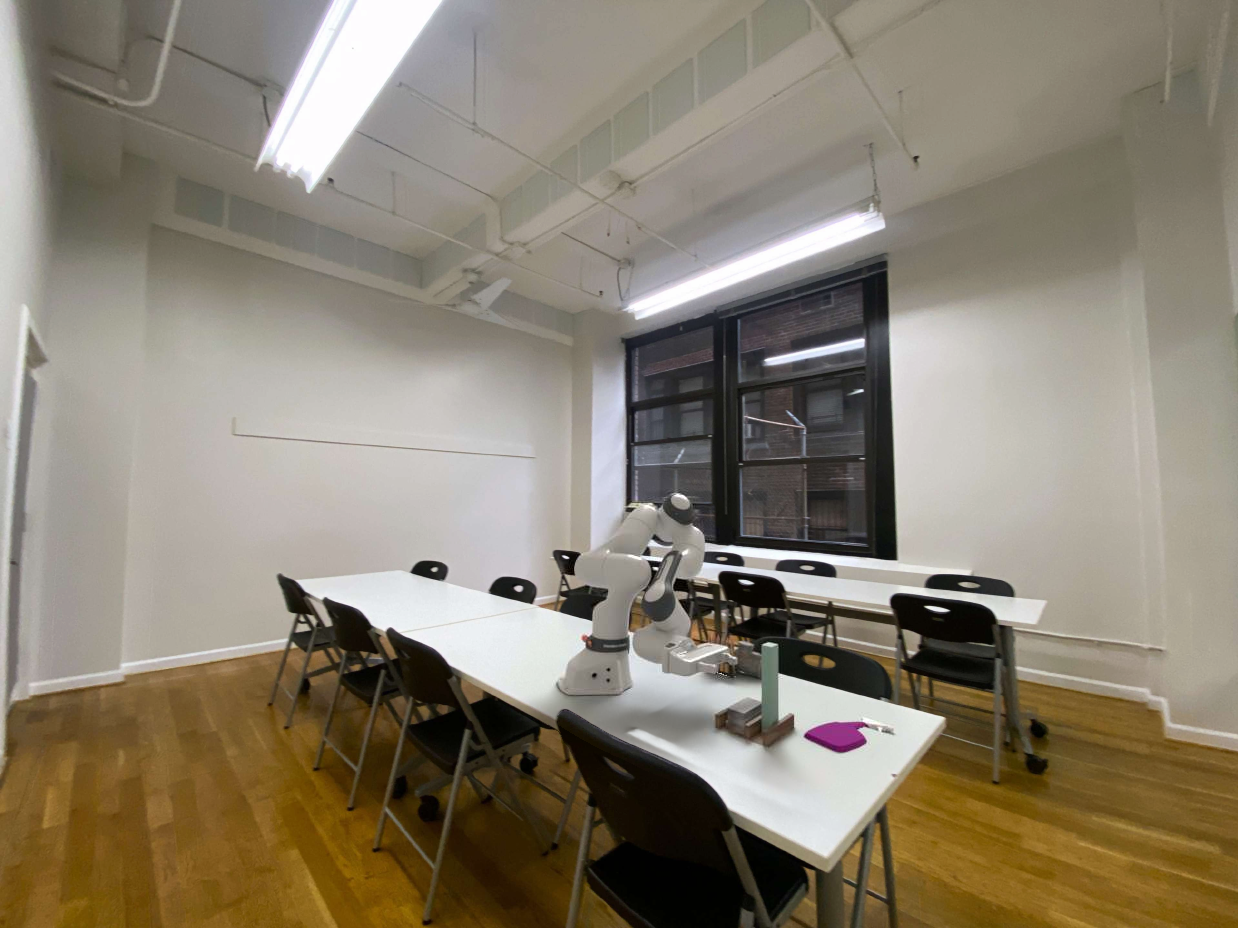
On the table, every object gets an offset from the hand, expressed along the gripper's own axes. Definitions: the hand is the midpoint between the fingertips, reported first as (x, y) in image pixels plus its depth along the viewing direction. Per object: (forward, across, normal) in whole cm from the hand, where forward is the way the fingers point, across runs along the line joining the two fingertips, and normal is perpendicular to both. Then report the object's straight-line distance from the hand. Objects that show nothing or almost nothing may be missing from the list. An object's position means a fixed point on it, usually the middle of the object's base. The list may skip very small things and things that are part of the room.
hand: (726, 665), depth 123 cm
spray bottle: (+25, -15, -15) cm, 32 cm away
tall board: (+12, 0, -12) cm, 17 cm away
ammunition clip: (-21, -32, -14) cm, 41 cm away
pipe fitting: (-14, -37, -14) cm, 42 cm away
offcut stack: (+6, 0, -12) cm, 14 cm away
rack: (+7, 0, -14) cm, 16 cm away
